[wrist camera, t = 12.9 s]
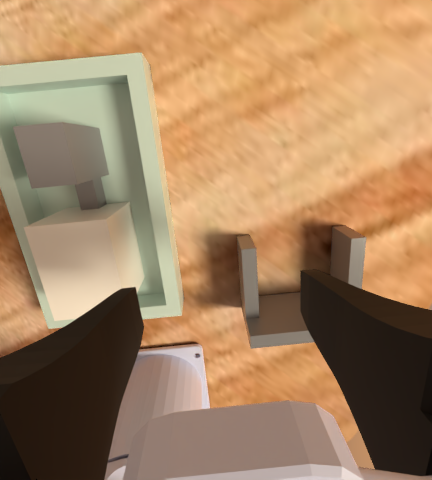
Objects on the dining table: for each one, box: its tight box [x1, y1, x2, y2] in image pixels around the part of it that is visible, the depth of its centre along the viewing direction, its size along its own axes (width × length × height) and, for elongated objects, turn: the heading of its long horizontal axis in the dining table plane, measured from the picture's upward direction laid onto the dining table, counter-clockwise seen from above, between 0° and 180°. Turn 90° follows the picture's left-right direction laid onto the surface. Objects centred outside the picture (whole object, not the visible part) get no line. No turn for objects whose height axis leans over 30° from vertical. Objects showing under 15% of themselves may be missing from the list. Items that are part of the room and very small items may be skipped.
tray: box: [0, 53, 184, 329], centre depth 19 cm, size 17×10×2 cm, turn 5°
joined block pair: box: [13, 122, 144, 321], centre depth 18 cm, size 11×4×5 cm, turn 5°
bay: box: [237, 225, 366, 348], centre depth 20 cm, size 6×8×5 cm
